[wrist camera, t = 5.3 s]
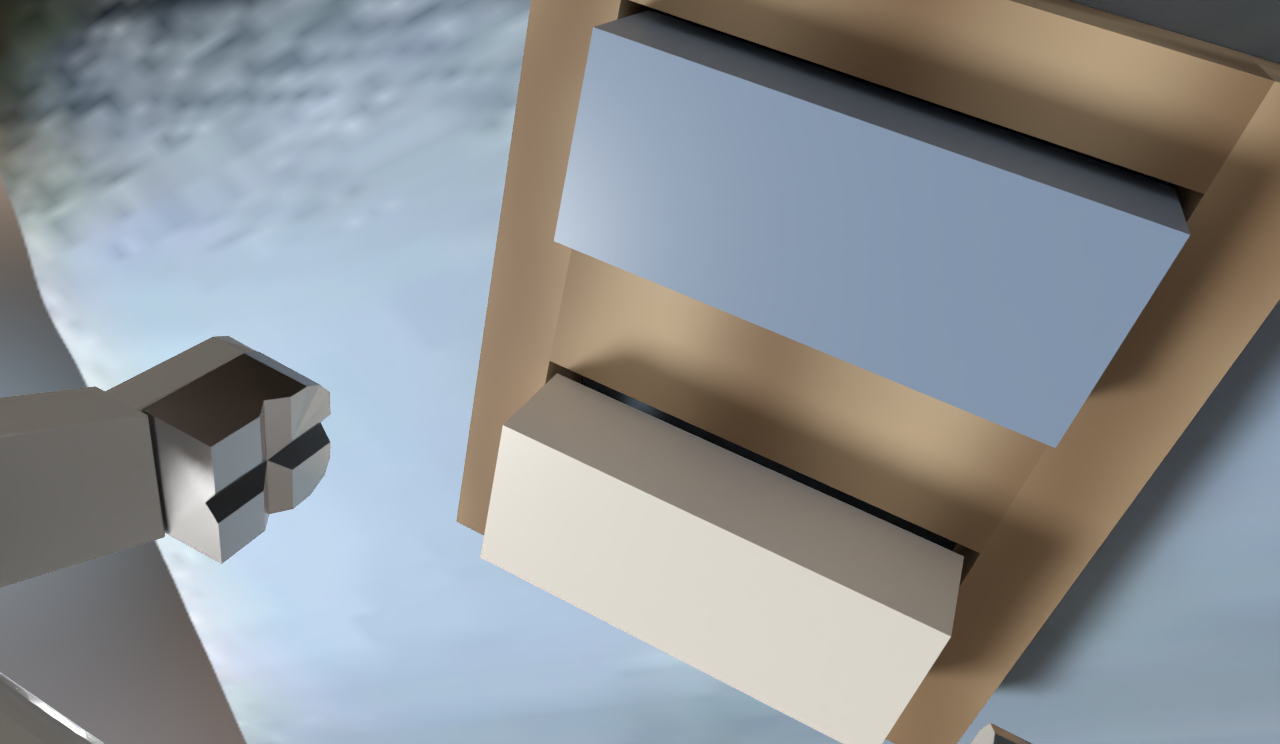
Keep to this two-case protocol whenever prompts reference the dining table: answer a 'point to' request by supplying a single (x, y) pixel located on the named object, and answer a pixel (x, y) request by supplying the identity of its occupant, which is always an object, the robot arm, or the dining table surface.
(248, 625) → the dining table surface
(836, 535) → the ivory key
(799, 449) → the key console
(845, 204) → the blue-grey rectangular block
